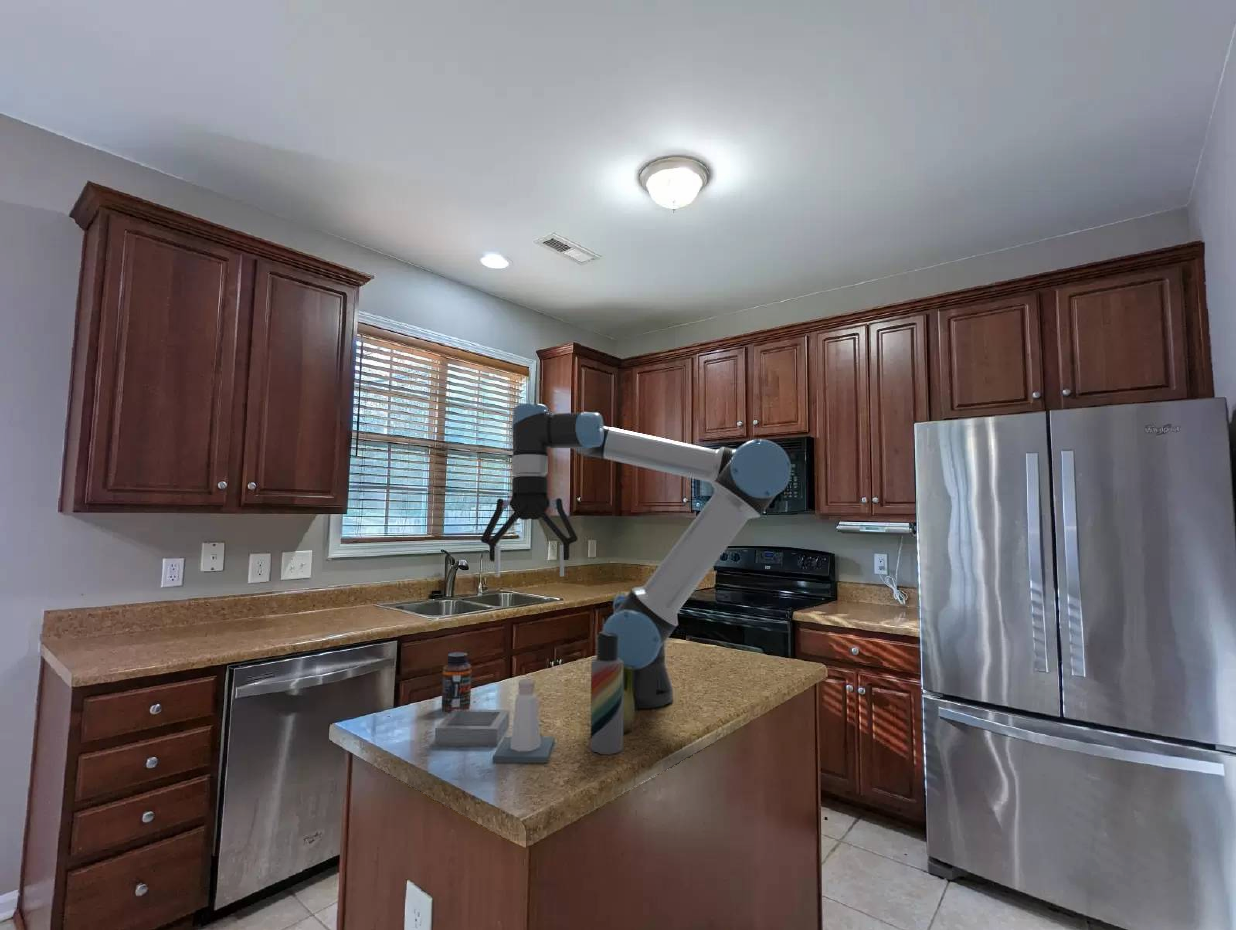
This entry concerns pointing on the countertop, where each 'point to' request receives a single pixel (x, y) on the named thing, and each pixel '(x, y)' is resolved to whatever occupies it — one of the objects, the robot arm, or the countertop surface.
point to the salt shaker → (525, 719)
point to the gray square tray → (472, 728)
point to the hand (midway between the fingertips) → (529, 576)
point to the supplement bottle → (456, 682)
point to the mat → (535, 756)
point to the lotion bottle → (607, 696)
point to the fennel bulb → (628, 700)
